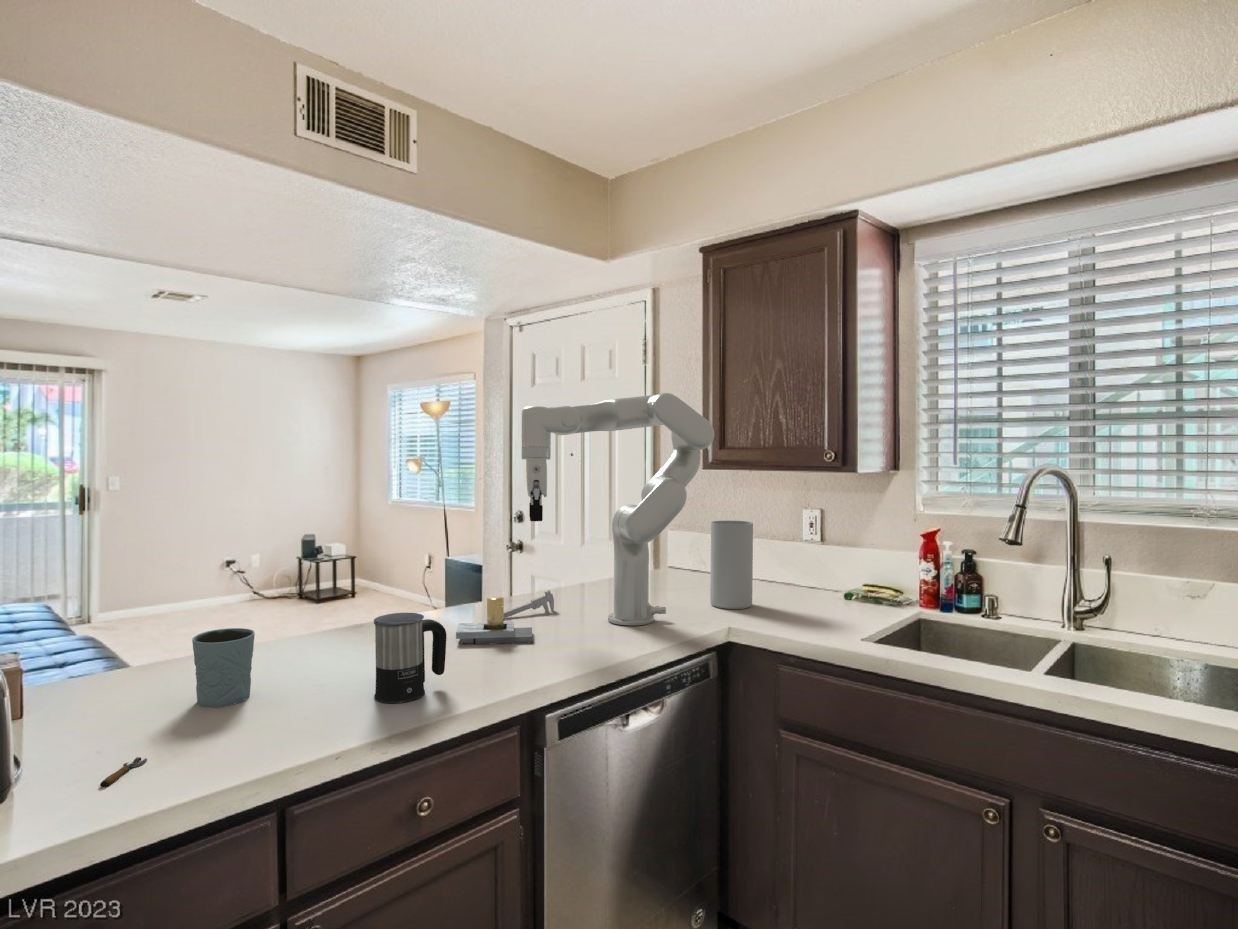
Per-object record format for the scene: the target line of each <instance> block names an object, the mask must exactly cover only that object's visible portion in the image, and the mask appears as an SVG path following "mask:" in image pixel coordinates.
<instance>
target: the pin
mask: <svg viewBox="0 0 1238 929" xmlns="http://www.w3.org/2000/svg"><path fill="white" fill-rule="evenodd" d="M504 601H505V600H504V597H503V596H490V597H487V598H486V623H487V630H501V629H504V622H505V620H504V619H505V618H504V612H505V611H504V610H505V609H504Z"/></svg>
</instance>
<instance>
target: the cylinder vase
mask: <svg viewBox="0 0 1238 929" xmlns="http://www.w3.org/2000/svg"><path fill="white" fill-rule="evenodd" d="M753 549H754V522H752V521H744V520H713V521H710V574H709V575H710V578H709V579H710V580H709V581H710V583H709V586H710V588H709V589H710V591H709V592H710V594H709V596H710V597H709V598H710V599H709V600H710V601H709V602H710V603H709V604H711V606H713V607H715V606H716V607H715V608H718V607H719V609H722V608H724V609H723V610H745V609H748V608H751V607H752V606H753V580H754V579H753V576H754V575H753V568H754V566H753V564H754V562H753V560H754V558H753V557H754V556H753V555H754V550H753Z"/></svg>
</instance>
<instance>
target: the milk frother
mask: <svg viewBox="0 0 1238 929" xmlns="http://www.w3.org/2000/svg"><path fill="white" fill-rule="evenodd" d="M424 617H425V615H423V614H421V613H418V612H394V613H387V614H384V615H379V616H377V617H375V618H373V624H374V627H375V632H374V633H375V640H374V641H375V693H374V695H373V698H374V699H375V700H376V701H377V702H380V703H385V704H402V703H407V702H411V701H415V700H417V699H419V698H421V697H423V696H425V693H426V690H425V685H424V684H425V681H426V670H425V668H426V667H425V659H426V658H425V632H431V633H432V644H431V645H432V648H431V649H432V650H431V653H432V654H431V670H432V673H434V674H435V675H437V676H441V675H443V674H444V673H445V666H446V653H447V630H446V628H445V626H444V625H442V623H441V622H438V620H437V621H436V620H434V619H424Z"/></svg>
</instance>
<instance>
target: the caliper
mask: <svg viewBox="0 0 1238 929" xmlns="http://www.w3.org/2000/svg"><path fill="white" fill-rule="evenodd" d="M548 604H549V605H548ZM542 607H543V610H544V611H545V612H547V611H551V610H553V611H555V599H554V595H553V593H551V590H549V589H547V591H544V595H540V596H539V597H536V598H534V599H531V600H530V601H529V602H527V603H524V604H521V605H520V606H516V607H514V608H512V609H508V610H506V611H504V619H506V618H509V617H512V616H514V615H517V614H520V613H523V612H525V611H528V610H530V609H532V610H537V609H540V608H542ZM549 608H550V609H551V610H549Z"/></svg>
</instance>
